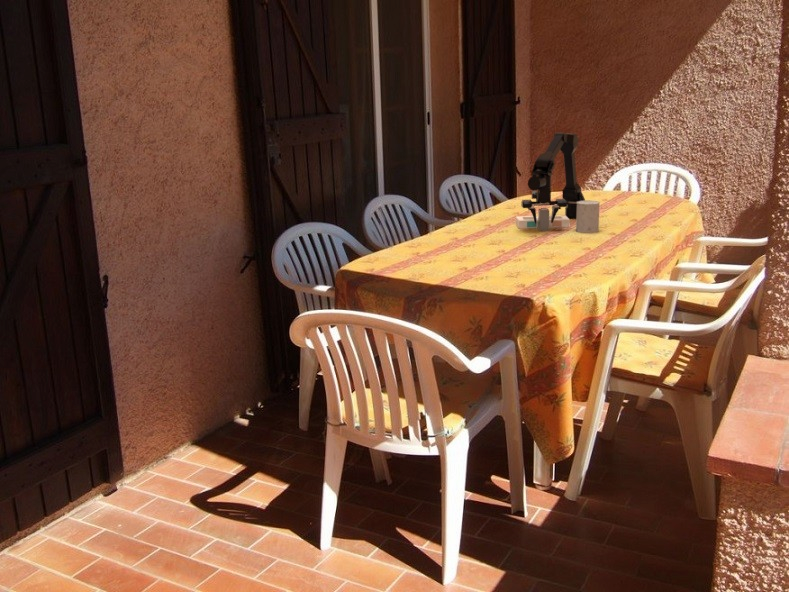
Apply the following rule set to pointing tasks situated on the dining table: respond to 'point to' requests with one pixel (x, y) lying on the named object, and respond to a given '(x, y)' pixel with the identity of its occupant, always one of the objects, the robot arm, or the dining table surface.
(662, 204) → the dining table surface
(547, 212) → the plug
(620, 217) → the dining table surface
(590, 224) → the stone cylinder
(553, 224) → the socket strip
